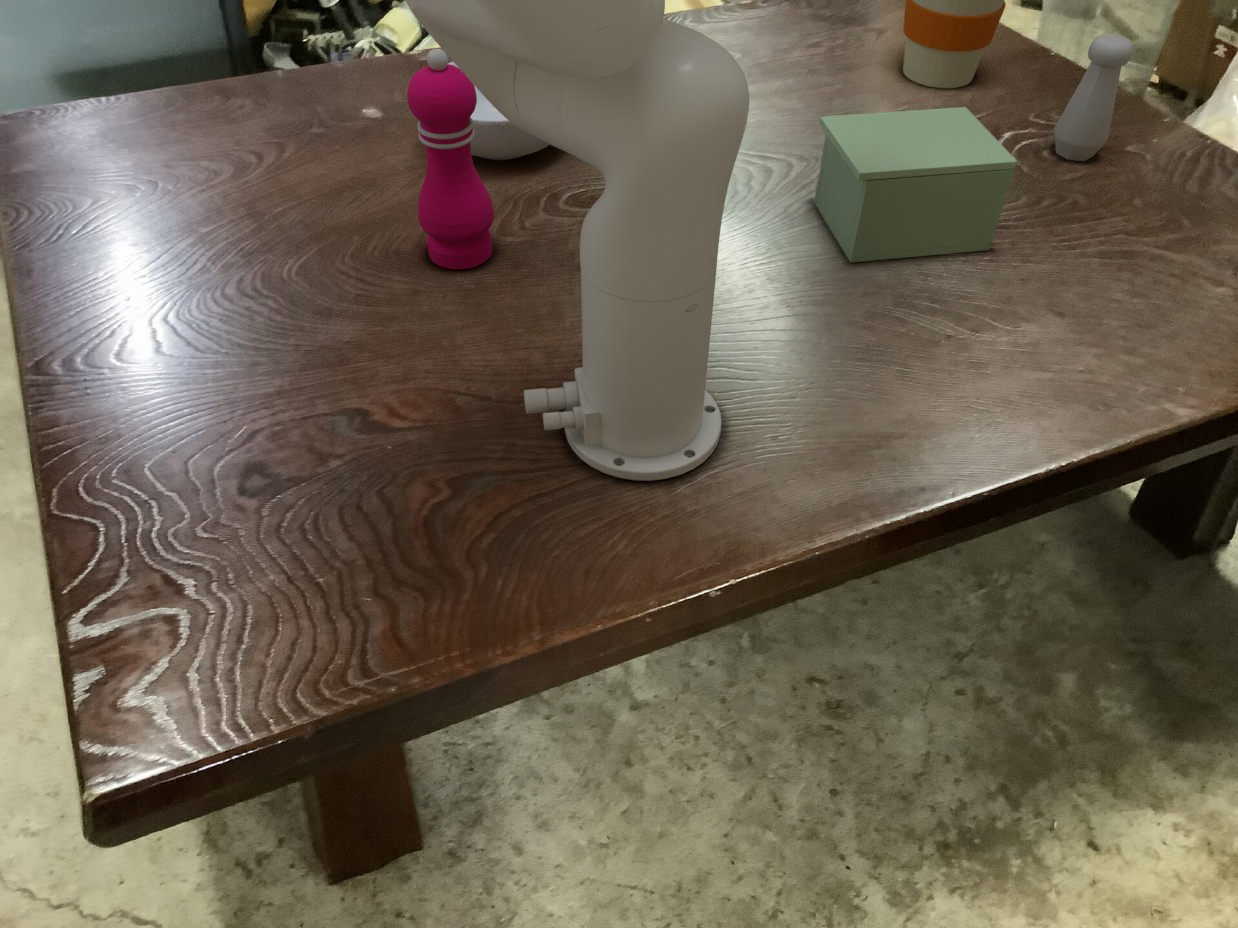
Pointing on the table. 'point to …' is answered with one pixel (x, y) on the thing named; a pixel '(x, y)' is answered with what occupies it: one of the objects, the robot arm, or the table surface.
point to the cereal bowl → (498, 134)
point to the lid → (915, 143)
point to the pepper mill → (450, 166)
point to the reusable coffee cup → (947, 39)
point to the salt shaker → (1093, 100)
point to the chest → (909, 210)
